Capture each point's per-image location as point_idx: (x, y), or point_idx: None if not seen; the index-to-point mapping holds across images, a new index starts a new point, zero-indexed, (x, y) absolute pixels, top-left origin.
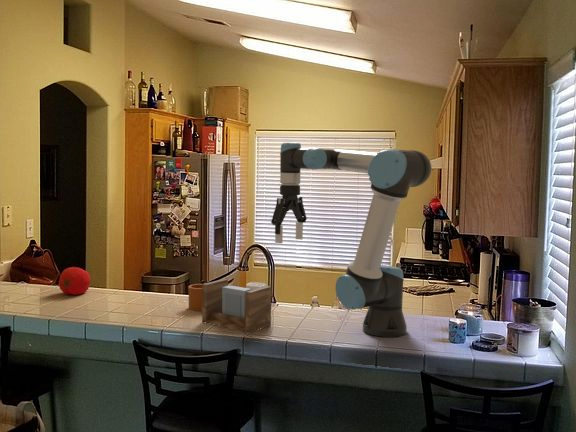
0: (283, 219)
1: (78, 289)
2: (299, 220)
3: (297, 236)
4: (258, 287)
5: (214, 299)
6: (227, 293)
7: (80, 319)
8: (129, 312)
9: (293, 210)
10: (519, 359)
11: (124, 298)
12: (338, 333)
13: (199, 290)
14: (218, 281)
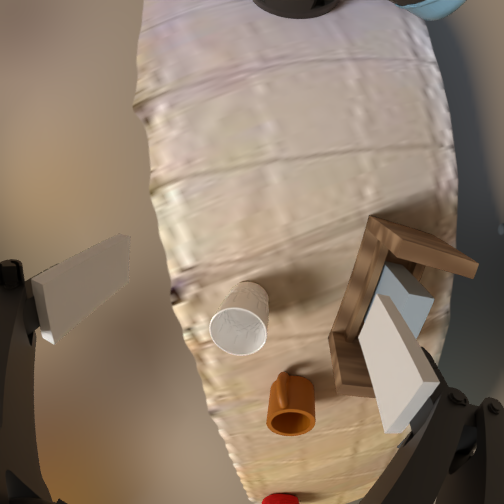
0: (423, 437)
1: (291, 498)
2: (26, 322)
3: (119, 275)
4: (261, 317)
5: None
6: None
7: (395, 453)
8: (352, 442)
9: (31, 458)
10: None
11: (279, 469)
12: (361, 55)
13: (313, 414)
14: (372, 390)
